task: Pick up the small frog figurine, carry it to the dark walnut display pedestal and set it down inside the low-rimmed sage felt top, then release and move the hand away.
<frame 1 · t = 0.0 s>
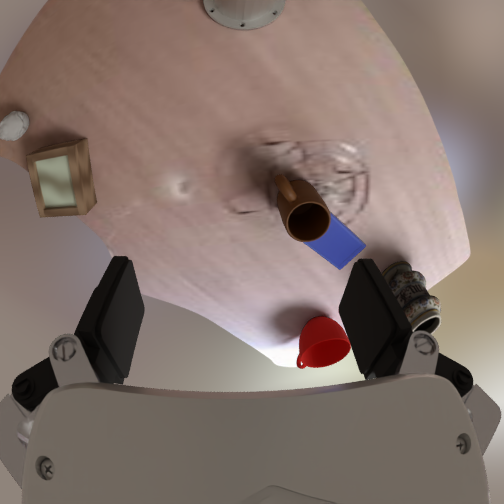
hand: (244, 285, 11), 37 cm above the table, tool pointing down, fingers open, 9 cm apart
apothecary jar: (395, 276, 62), on the table
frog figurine: (25, 121, 34), on the table
hard drive: (333, 239, 56), on the table
pedestal: (67, 174, 42), on the table
mug: (290, 188, 48), on the table
ceramic cup: (312, 327, 71), on the table
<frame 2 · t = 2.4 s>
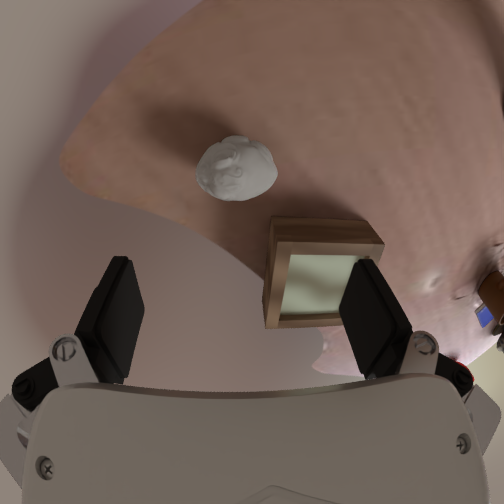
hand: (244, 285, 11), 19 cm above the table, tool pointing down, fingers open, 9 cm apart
apothecary jar: (502, 323, 55), on the table
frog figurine: (237, 157, 26), on the table
hard drive: (487, 307, 48), on the table
pedestal: (312, 263, 34), on the table
mug: (488, 276, 40), on the table
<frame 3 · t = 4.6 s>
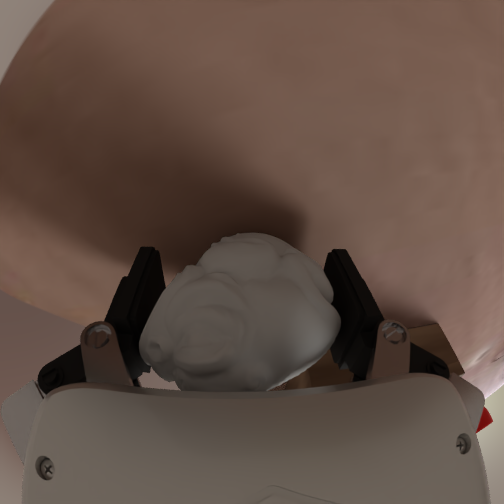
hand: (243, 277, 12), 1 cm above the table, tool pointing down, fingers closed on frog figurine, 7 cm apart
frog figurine: (242, 256, 13), on the table, touching gripper
pedestal: (352, 378, 21), on the table
ceramic cup: (459, 411, 50), on the table
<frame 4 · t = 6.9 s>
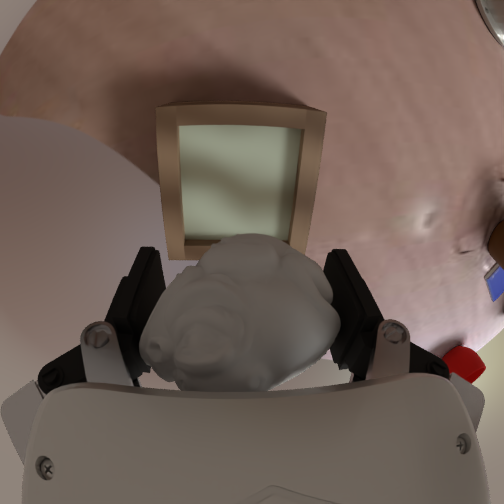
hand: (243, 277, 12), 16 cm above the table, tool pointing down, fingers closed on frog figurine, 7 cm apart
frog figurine: (242, 256, 13), point 14 cm above the table, touching gripper
hard drive: (498, 274, 38), on the table
pedestal: (237, 169, 24), on the table
mug: (498, 227, 30), on the table
ceramic cup: (445, 357, 54), on the table
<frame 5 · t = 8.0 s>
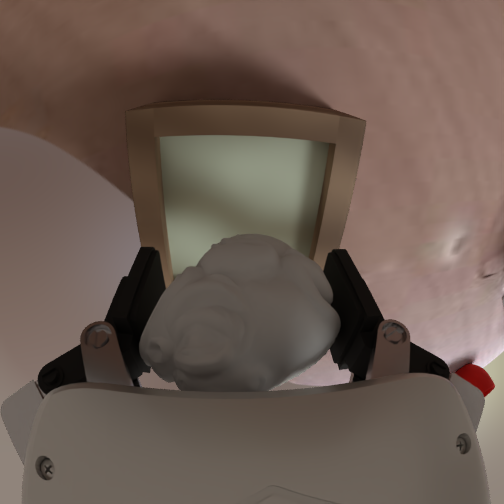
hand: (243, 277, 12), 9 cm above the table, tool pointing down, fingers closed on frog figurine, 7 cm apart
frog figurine: (242, 256, 13), point 8 cm above the table, touching gripper
pedestal: (240, 190, 19), on the table
ceramic cup: (454, 375, 48), on the table
when the fingers open (7 cm above the table, at t = 9.1 s): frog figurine drops 1 cm, resting on pedestal.
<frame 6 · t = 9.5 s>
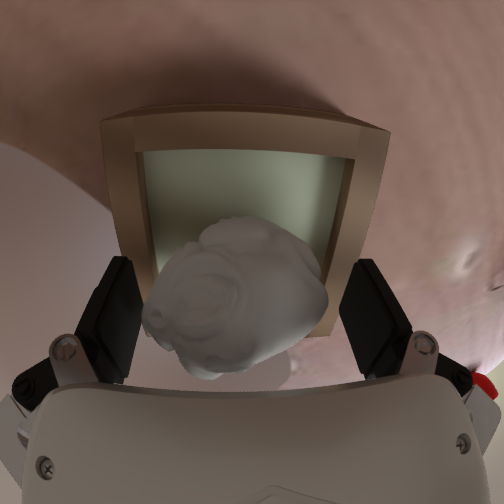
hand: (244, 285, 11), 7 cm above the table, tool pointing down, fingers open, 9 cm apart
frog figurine: (238, 240, 14), point 4 cm above the table, touching pedestal
pedestal: (239, 207, 17), on the table
ceramic cup: (458, 383, 46), on the table
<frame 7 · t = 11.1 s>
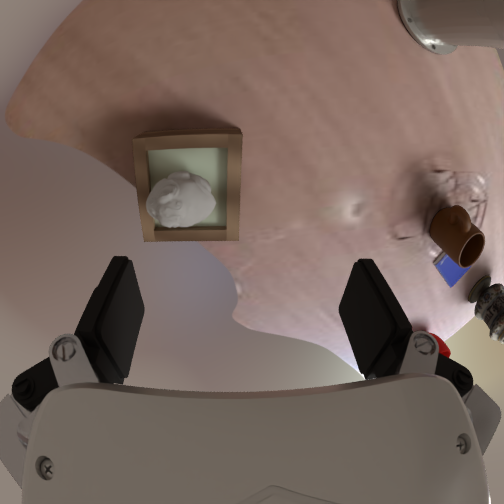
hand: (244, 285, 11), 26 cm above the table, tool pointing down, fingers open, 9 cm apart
apothecary jar: (479, 288, 56), on the table
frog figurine: (187, 187, 31), point 4 cm above the table, touching pedestal
hard drive: (451, 260, 49), on the table
pedestal: (192, 177, 34), on the table
mug: (440, 215, 41), on the table
ceramic cup: (411, 343, 63), on the table
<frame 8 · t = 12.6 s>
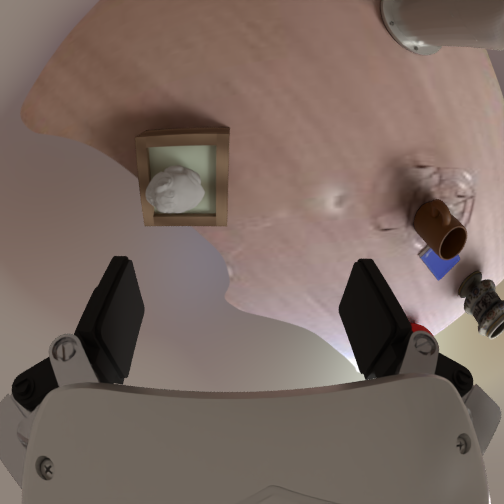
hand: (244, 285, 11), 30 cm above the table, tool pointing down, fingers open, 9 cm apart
apothecary jar: (469, 284, 59), on the table
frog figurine: (182, 179, 35), point 4 cm above the table, touching pedestal
hard drive: (438, 254, 52), on the table
pedestal: (187, 170, 38), on the table
mug: (424, 208, 44), on the table
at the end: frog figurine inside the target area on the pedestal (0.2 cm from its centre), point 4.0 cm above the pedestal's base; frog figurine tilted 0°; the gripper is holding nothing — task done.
